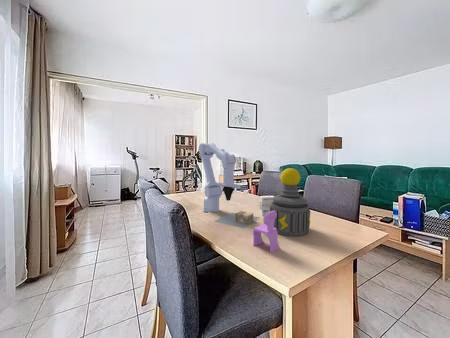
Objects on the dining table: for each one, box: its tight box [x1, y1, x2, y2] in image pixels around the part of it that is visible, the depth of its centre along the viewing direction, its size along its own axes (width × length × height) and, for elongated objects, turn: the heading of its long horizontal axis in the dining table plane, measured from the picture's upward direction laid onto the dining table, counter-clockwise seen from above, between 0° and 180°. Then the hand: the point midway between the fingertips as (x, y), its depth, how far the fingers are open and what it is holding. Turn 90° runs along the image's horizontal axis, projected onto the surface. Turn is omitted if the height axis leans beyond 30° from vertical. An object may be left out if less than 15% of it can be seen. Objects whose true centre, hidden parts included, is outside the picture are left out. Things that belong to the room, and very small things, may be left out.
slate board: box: [213, 212, 261, 229], centre depth 116 cm, size 18×20×1 cm
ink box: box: [259, 195, 275, 217], centre depth 125 cm, size 9×5×12 cm, turn 100°
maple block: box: [235, 210, 254, 223], centre depth 114 cm, size 4×6×8 cm
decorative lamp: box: [270, 167, 311, 237], centre depth 103 cm, size 19×19×30 cm
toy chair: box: [252, 211, 280, 253], centre depth 85 cm, size 8×9×15 cm
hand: (228, 200), depth 121 cm, fingers closed
